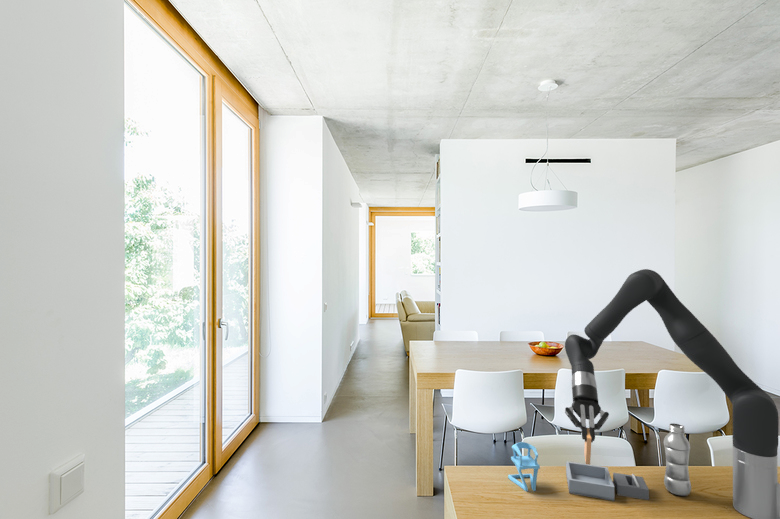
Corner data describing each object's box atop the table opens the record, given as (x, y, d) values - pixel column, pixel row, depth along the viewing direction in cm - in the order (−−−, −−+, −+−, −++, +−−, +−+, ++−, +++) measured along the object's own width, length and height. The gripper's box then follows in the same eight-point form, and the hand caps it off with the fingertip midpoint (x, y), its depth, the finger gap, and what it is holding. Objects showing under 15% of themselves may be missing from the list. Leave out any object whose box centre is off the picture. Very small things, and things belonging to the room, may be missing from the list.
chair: (518, 492, 122) (518, 452, 122) (507, 477, 130) (507, 440, 130) (543, 490, 123) (543, 451, 123) (530, 476, 131) (531, 439, 131)
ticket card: (588, 453, 130) (589, 428, 127) (590, 464, 126) (591, 438, 123) (584, 453, 130) (585, 427, 127) (585, 464, 126) (587, 437, 123)
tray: (607, 480, 129) (607, 467, 129) (614, 500, 117) (614, 487, 117) (566, 473, 133) (566, 461, 133) (569, 493, 121) (569, 479, 121)
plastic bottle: (695, 500, 118) (695, 431, 118) (669, 497, 119) (669, 429, 119) (684, 488, 124) (684, 422, 124) (659, 485, 125) (659, 420, 126)
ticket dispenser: (642, 486, 125) (642, 474, 125) (649, 500, 118) (648, 487, 118) (613, 482, 128) (613, 470, 128) (617, 495, 120) (617, 482, 120)
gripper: (563, 381, 135) (565, 432, 124) (608, 385, 131) (615, 439, 119) (561, 392, 140) (564, 442, 129) (605, 396, 136) (612, 449, 124)
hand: (588, 441), depth 124 cm, fingers closed on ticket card, 1 cm apart
